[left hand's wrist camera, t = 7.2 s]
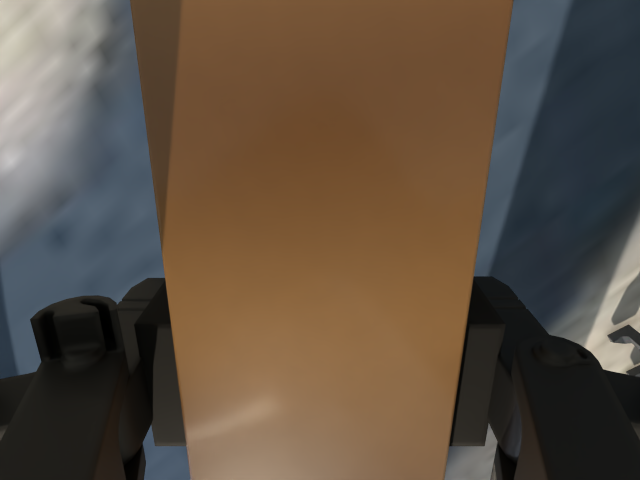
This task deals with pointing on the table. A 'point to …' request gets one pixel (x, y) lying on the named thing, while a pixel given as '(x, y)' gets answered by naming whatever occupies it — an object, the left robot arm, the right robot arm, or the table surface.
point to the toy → (627, 336)
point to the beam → (319, 223)
